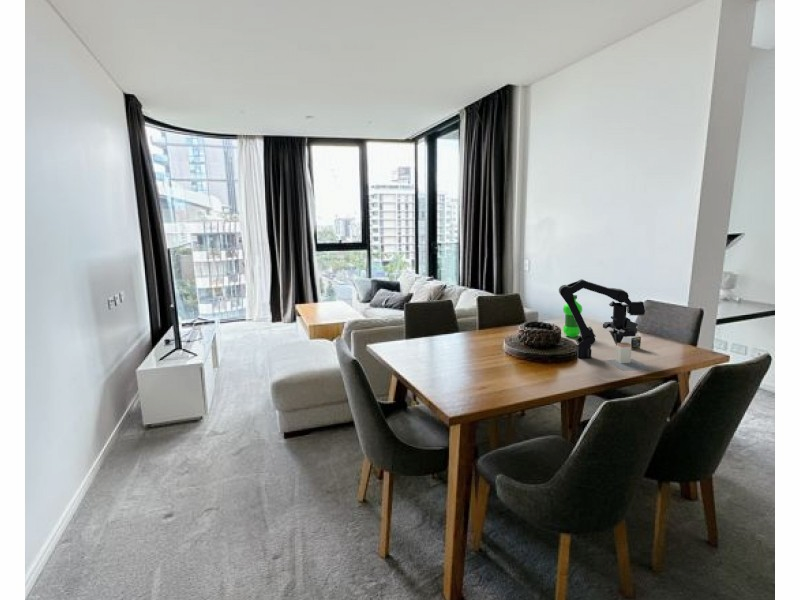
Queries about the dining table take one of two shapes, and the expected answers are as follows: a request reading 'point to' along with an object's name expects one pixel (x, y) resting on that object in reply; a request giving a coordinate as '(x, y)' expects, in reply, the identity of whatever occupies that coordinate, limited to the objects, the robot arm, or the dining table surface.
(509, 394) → the dining table surface
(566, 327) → the plastic bottle
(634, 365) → the gray mat
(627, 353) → the cream block
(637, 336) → the medicine bottle
